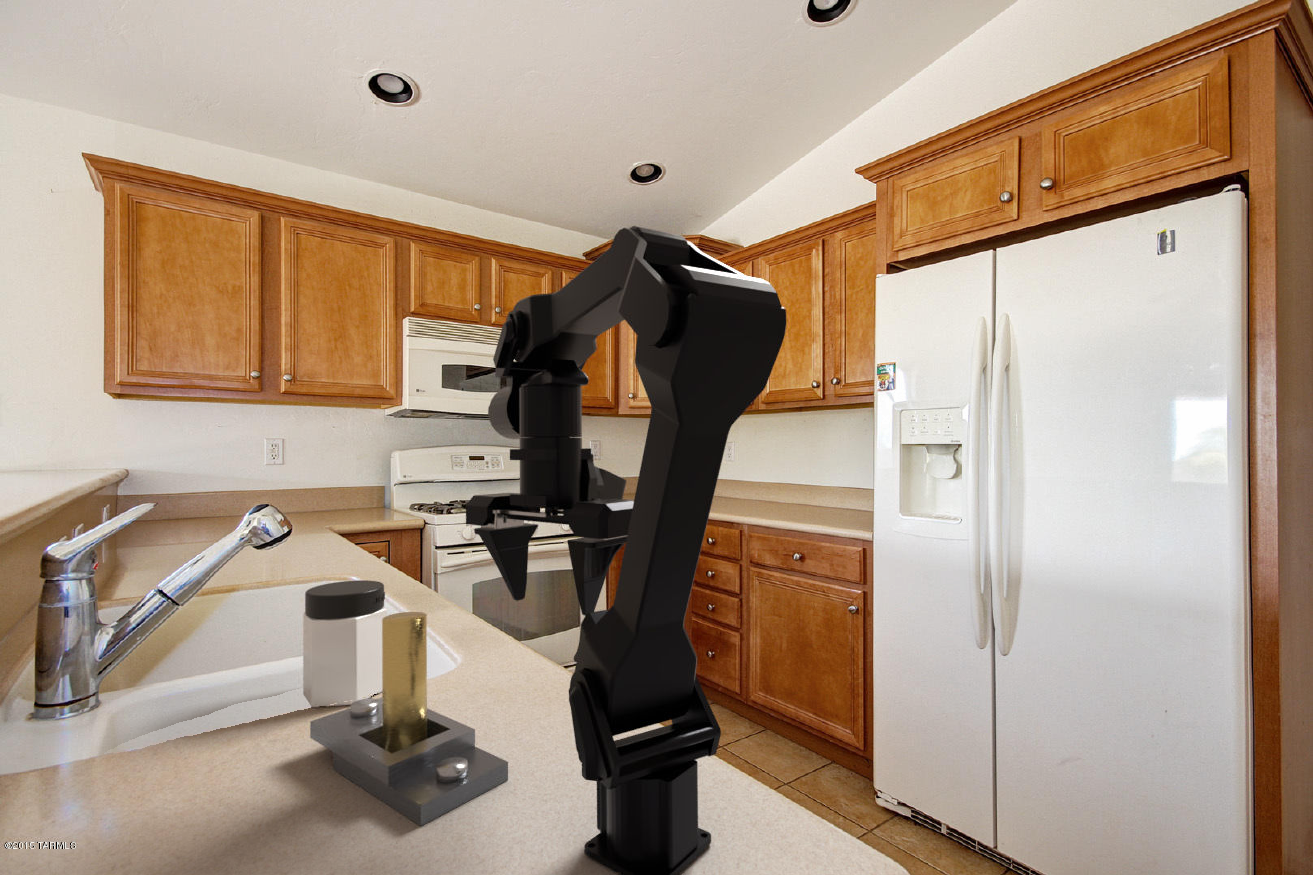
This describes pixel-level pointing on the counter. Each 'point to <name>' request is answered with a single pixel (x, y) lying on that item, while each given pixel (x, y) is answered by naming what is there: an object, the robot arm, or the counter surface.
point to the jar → (343, 642)
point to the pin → (404, 680)
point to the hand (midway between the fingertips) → (552, 606)
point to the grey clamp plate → (409, 761)
